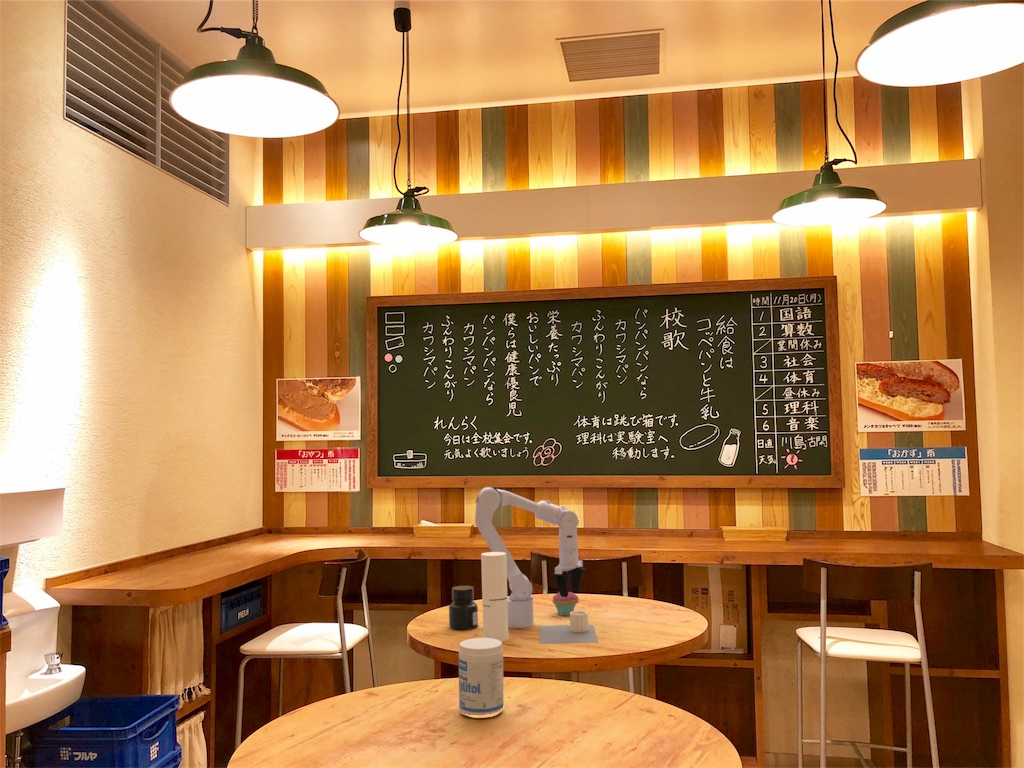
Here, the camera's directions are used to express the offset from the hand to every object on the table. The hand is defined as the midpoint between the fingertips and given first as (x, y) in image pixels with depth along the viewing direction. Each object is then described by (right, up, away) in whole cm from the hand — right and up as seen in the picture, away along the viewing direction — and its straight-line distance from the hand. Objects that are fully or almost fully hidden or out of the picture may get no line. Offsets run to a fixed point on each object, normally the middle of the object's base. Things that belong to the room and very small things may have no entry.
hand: (570, 594), depth 247 cm
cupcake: (0, -11, +15) cm, 19 cm away
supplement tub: (-24, -6, -75) cm, 79 cm away
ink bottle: (-33, -11, +1) cm, 34 cm away
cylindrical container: (-22, -9, -18) cm, 30 cm away
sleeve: (+2, -8, -11) cm, 13 cm away
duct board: (-2, -9, -14) cm, 17 cm away
